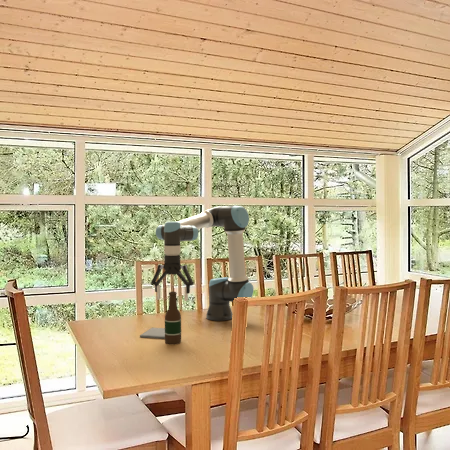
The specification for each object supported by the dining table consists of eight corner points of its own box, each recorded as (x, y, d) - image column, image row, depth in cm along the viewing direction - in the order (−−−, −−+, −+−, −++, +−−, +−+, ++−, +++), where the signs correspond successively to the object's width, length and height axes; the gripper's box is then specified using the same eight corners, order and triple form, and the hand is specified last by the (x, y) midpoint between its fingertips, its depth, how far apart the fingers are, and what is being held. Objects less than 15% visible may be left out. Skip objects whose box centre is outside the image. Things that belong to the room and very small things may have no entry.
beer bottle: (166, 345, 220) (165, 293, 219) (163, 341, 227) (163, 290, 227) (182, 344, 222) (182, 292, 221) (179, 339, 229) (179, 290, 229)
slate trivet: (181, 331, 246) (181, 329, 246) (170, 339, 230) (170, 337, 230) (152, 329, 249) (152, 327, 249) (139, 337, 234) (139, 335, 234)
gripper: (200, 254, 224) (200, 299, 224) (150, 253, 230) (150, 297, 230) (195, 255, 217) (195, 302, 217) (144, 254, 222) (144, 299, 223)
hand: (172, 299), depth 224 cm, fingers open, 13 cm apart
